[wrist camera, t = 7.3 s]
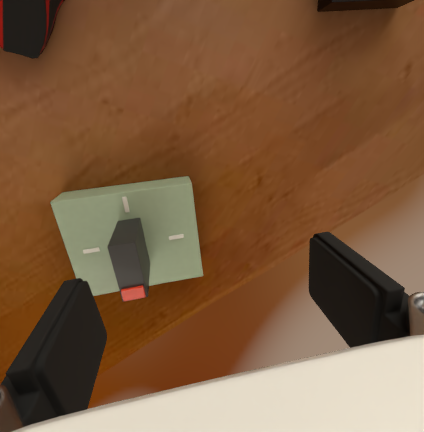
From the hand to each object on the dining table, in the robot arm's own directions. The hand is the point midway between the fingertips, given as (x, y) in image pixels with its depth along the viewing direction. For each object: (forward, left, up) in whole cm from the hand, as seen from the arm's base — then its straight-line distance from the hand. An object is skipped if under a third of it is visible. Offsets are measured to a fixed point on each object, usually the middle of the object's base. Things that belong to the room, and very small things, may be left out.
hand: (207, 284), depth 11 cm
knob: (-5, -4, -14) cm, 15 cm away
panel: (-5, -4, -17) cm, 18 cm away
